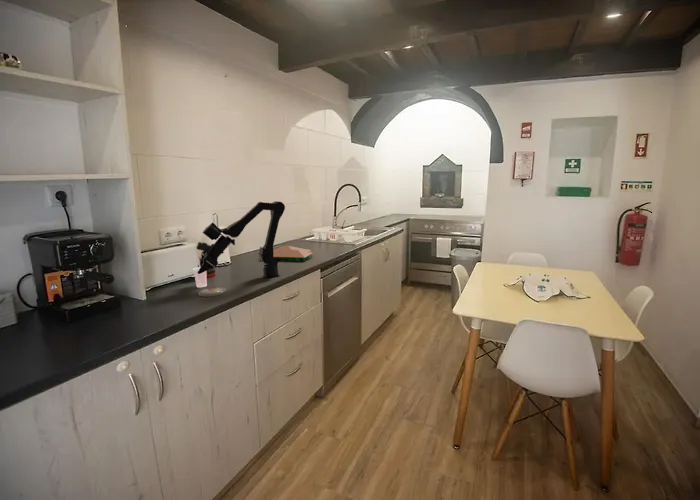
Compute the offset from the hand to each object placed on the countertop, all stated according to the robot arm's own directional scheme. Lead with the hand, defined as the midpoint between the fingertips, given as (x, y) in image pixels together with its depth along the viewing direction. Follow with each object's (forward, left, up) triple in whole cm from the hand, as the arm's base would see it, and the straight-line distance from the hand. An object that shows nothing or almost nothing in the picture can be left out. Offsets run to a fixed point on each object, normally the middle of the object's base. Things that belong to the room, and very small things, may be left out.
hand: (197, 271), depth 170 cm
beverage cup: (-1, 0, -8) cm, 8 cm away
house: (-65, -28, -8) cm, 71 cm away
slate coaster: (-1, +15, -7) cm, 17 cm away
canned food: (-10, -18, -8) cm, 22 cm away
